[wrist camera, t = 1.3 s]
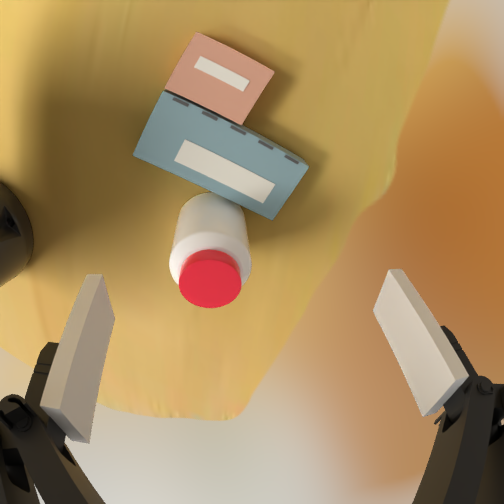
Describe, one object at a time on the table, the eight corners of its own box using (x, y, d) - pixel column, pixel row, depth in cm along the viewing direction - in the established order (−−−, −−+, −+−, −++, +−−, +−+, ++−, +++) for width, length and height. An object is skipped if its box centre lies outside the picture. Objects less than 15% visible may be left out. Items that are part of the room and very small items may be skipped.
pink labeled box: (168, 85, 27) (164, 88, 25) (198, 33, 25) (196, 31, 22) (239, 120, 30) (241, 125, 28) (270, 70, 27) (275, 71, 25)
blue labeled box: (138, 148, 31) (132, 155, 28) (167, 88, 28) (162, 90, 25) (269, 210, 36) (272, 221, 34) (303, 159, 33) (309, 167, 31)
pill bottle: (165, 208, 35) (148, 268, 26) (228, 181, 34) (233, 234, 25) (196, 259, 39) (192, 326, 30) (255, 236, 38) (267, 300, 29)
